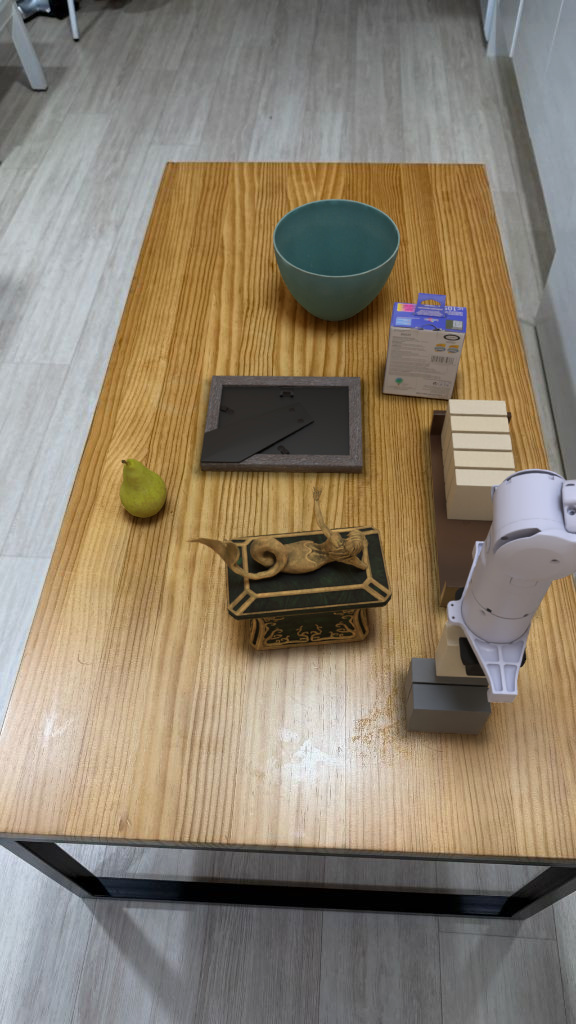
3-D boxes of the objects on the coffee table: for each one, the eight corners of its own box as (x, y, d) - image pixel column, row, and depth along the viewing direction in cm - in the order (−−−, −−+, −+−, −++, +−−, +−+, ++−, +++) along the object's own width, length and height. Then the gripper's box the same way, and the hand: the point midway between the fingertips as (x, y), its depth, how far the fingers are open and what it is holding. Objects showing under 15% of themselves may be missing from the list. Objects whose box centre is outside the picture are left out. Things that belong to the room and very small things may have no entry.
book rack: (527, 610, 85) (538, 590, 81) (439, 607, 86) (446, 586, 82) (503, 436, 100) (511, 411, 96) (428, 434, 101) (433, 409, 97)
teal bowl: (415, 301, 117) (426, 232, 107) (339, 361, 109) (342, 293, 99) (329, 253, 124) (331, 184, 114) (251, 307, 117) (246, 238, 107)
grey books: (479, 734, 77) (491, 712, 72) (406, 731, 78) (413, 708, 72) (474, 685, 80) (486, 660, 75) (404, 682, 81) (411, 657, 75)
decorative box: (371, 570, 89) (385, 467, 73) (385, 644, 83) (403, 550, 67) (203, 585, 88) (180, 485, 72) (206, 661, 83) (181, 570, 66)
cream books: (504, 521, 91) (518, 487, 86) (447, 519, 92) (456, 485, 86) (493, 437, 99) (505, 400, 94) (440, 435, 100) (448, 399, 94)
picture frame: (202, 470, 98) (361, 473, 97) (200, 461, 96) (362, 463, 96) (213, 383, 107) (359, 384, 106) (212, 373, 106) (360, 374, 105)
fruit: (165, 485, 97) (149, 423, 87) (174, 520, 94) (159, 460, 84) (121, 496, 96) (100, 435, 86) (129, 532, 93) (108, 473, 83)
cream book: (509, 679, 72) (526, 648, 66) (436, 676, 72) (447, 645, 66) (506, 655, 73) (523, 623, 67) (434, 653, 73) (445, 621, 68)
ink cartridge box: (454, 373, 107) (472, 291, 95) (452, 401, 104) (471, 320, 92) (385, 367, 108) (394, 285, 97) (382, 394, 105) (391, 313, 93)
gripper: (449, 512, 64) (428, 589, 75) (464, 670, 56) (438, 730, 67) (532, 514, 64) (499, 591, 75) (559, 673, 56) (517, 733, 67)
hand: (475, 657), depth 71 cm, fingers closed on cream book, 2 cm apart
